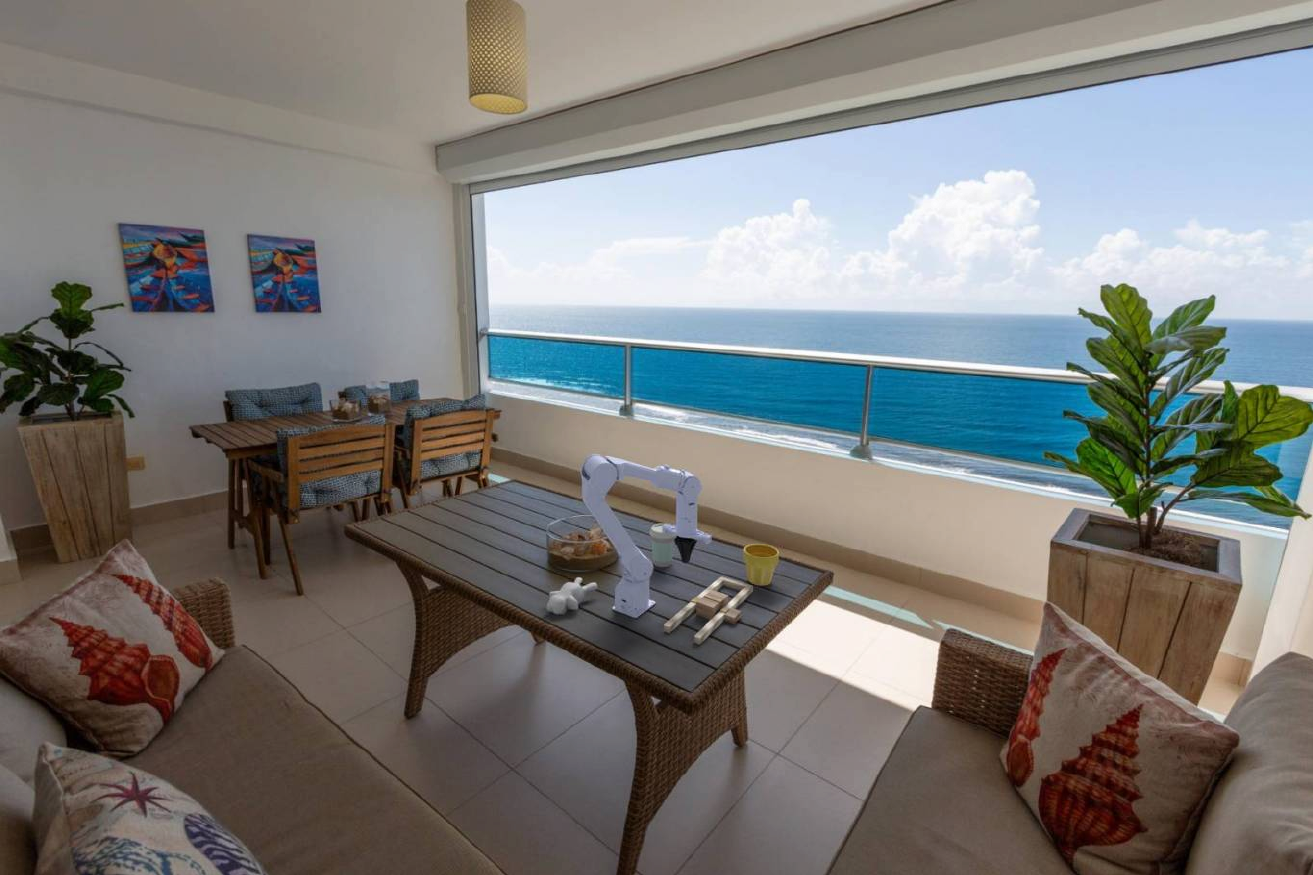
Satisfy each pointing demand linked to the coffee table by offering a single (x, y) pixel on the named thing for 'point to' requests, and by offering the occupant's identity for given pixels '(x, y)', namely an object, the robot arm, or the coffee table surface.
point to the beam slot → (725, 614)
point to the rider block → (711, 604)
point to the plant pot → (760, 563)
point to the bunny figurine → (568, 596)
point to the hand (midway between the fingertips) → (685, 561)
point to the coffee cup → (662, 546)
